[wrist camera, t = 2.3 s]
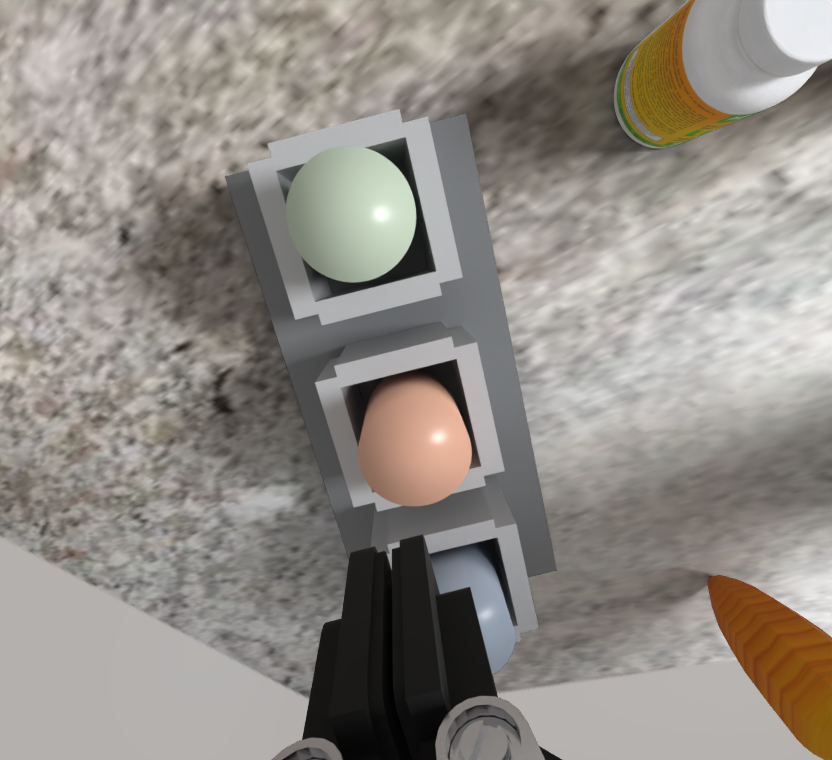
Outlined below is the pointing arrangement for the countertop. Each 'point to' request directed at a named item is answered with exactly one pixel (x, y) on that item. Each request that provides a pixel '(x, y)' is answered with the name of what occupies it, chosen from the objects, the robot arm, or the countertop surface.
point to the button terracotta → (413, 440)
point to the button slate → (479, 595)
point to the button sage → (351, 214)
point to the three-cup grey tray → (406, 347)
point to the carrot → (780, 658)
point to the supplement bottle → (719, 66)
